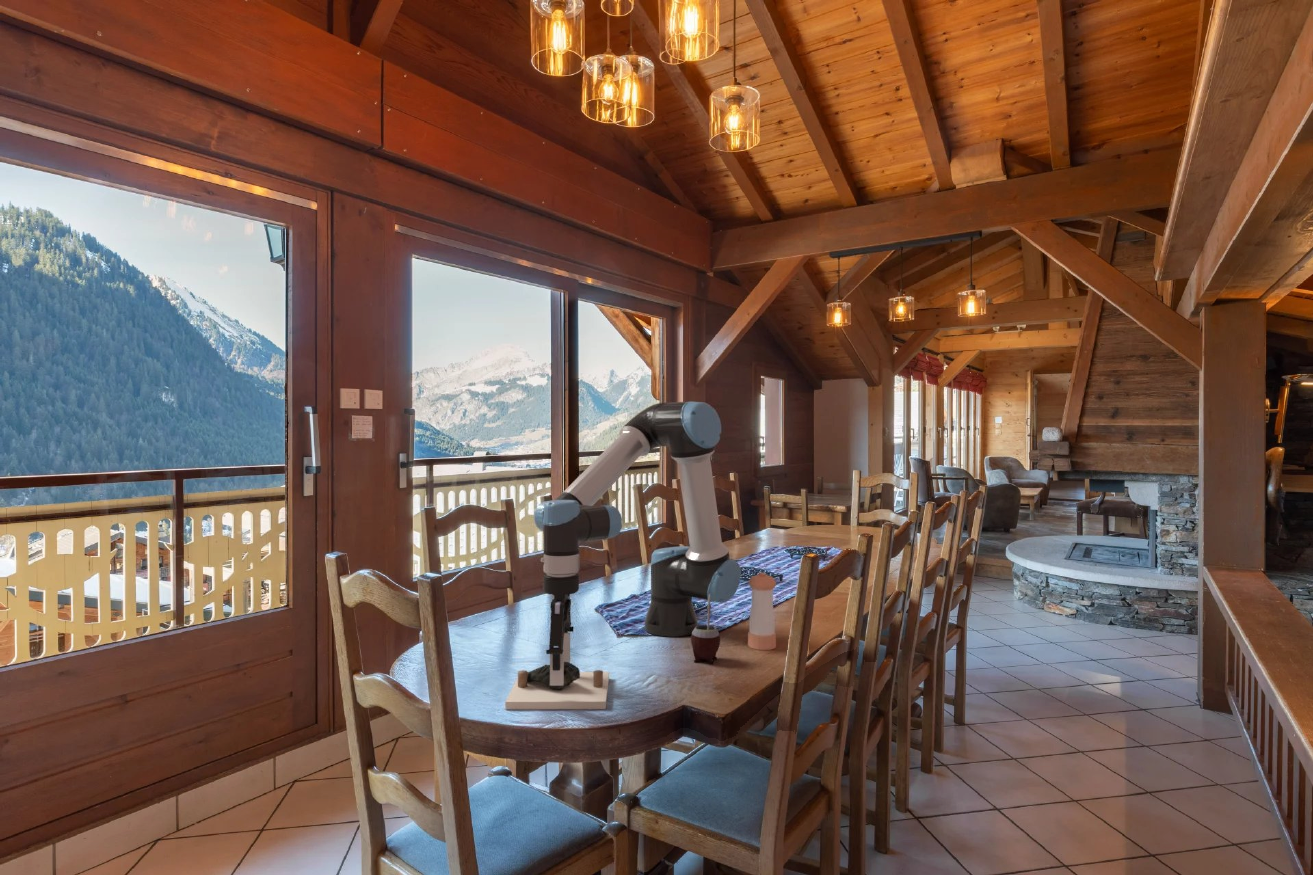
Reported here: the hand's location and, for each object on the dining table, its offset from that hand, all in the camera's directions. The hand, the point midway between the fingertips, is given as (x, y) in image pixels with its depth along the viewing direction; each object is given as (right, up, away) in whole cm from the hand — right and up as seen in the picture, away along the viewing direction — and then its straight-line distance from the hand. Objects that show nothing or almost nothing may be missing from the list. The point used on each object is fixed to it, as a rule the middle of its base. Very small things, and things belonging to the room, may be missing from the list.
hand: (560, 673), depth 145 cm
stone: (-2, -3, 0) cm, 4 cm away
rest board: (0, -4, 0) cm, 4 cm away
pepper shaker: (+48, -5, +33) cm, 59 cm away
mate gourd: (+32, -5, +22) cm, 39 cm away
